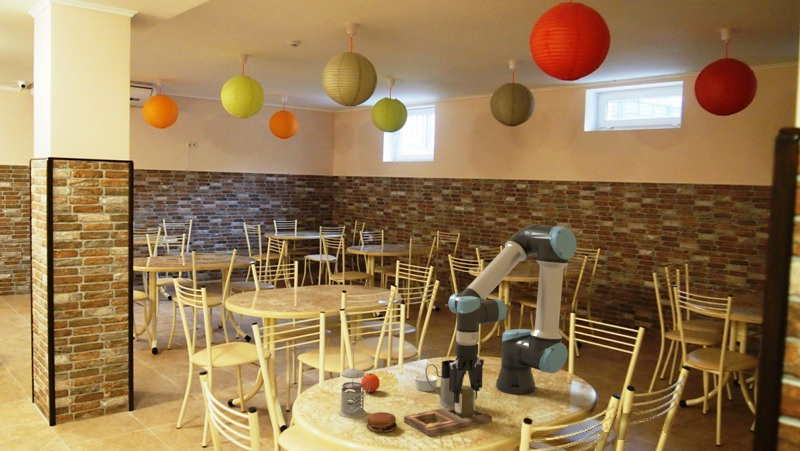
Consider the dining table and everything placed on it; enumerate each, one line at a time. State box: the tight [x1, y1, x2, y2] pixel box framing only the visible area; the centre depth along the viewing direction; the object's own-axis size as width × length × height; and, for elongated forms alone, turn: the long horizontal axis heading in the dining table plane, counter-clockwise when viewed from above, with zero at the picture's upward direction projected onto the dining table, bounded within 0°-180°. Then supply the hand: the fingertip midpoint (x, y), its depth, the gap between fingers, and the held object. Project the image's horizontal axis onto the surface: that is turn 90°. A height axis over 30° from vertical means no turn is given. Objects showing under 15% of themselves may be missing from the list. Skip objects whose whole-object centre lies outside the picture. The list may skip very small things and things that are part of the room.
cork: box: [456, 385, 473, 419], centre depth 219 cm, size 6×6×11 cm
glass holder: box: [425, 359, 464, 408], centre depth 234 cm, size 9×14×15 cm, turn 73°
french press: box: [337, 340, 370, 419], centre depth 221 cm, size 10×12×25 cm
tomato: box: [360, 372, 381, 393], centre depth 245 cm, size 8×7×7 cm
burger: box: [366, 411, 398, 433], centre depth 208 cm, size 10×9×5 cm
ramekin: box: [414, 373, 438, 392], centre depth 250 cm, size 9×9×4 cm
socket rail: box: [403, 406, 493, 437], centre depth 215 cm, size 26×14×2 cm, turn 123°
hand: (465, 410), depth 219 cm, fingers closed on cork, 5 cm apart
